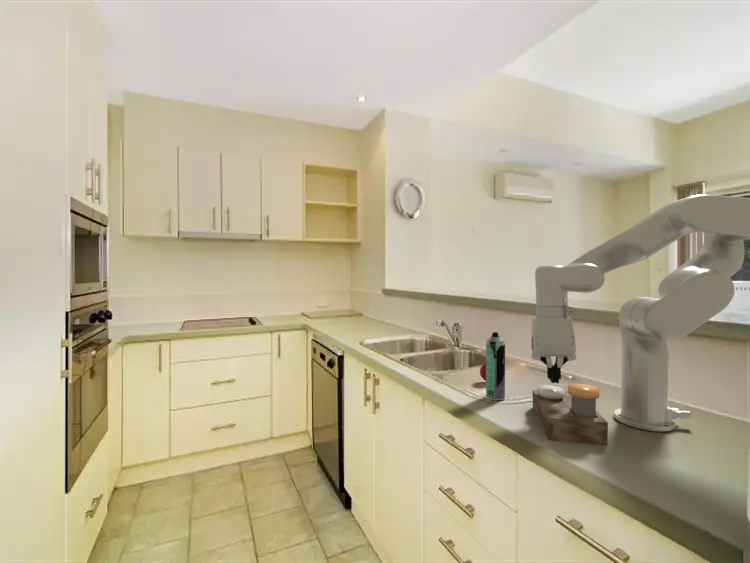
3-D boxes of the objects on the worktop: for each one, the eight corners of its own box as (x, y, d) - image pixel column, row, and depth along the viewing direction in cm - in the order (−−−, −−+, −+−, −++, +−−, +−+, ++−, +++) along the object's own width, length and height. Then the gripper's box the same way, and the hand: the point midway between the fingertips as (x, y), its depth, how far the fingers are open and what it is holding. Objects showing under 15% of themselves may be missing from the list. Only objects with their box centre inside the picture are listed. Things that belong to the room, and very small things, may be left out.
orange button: (593, 411, 89) (593, 384, 89) (603, 422, 83) (603, 393, 82) (564, 409, 90) (564, 382, 90) (572, 420, 84) (572, 390, 84)
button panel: (579, 411, 100) (579, 393, 100) (607, 445, 81) (607, 422, 81) (532, 407, 103) (532, 390, 103) (548, 439, 84) (548, 418, 83)
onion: (497, 381, 128) (497, 358, 128) (497, 386, 122) (497, 362, 122) (479, 379, 130) (479, 357, 129) (479, 384, 124) (479, 361, 124)
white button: (560, 410, 100) (560, 385, 100) (566, 419, 94) (566, 393, 93) (535, 408, 101) (535, 384, 101) (539, 417, 95) (539, 391, 95)
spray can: (506, 401, 108) (506, 333, 107) (486, 400, 109) (487, 333, 108) (503, 395, 113) (503, 330, 113) (485, 394, 114) (485, 330, 114)
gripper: (579, 310, 98) (581, 378, 99) (519, 311, 102) (521, 376, 102) (588, 313, 91) (590, 387, 92) (523, 314, 95) (526, 385, 95)
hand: (554, 381), depth 97 cm, fingers closed
